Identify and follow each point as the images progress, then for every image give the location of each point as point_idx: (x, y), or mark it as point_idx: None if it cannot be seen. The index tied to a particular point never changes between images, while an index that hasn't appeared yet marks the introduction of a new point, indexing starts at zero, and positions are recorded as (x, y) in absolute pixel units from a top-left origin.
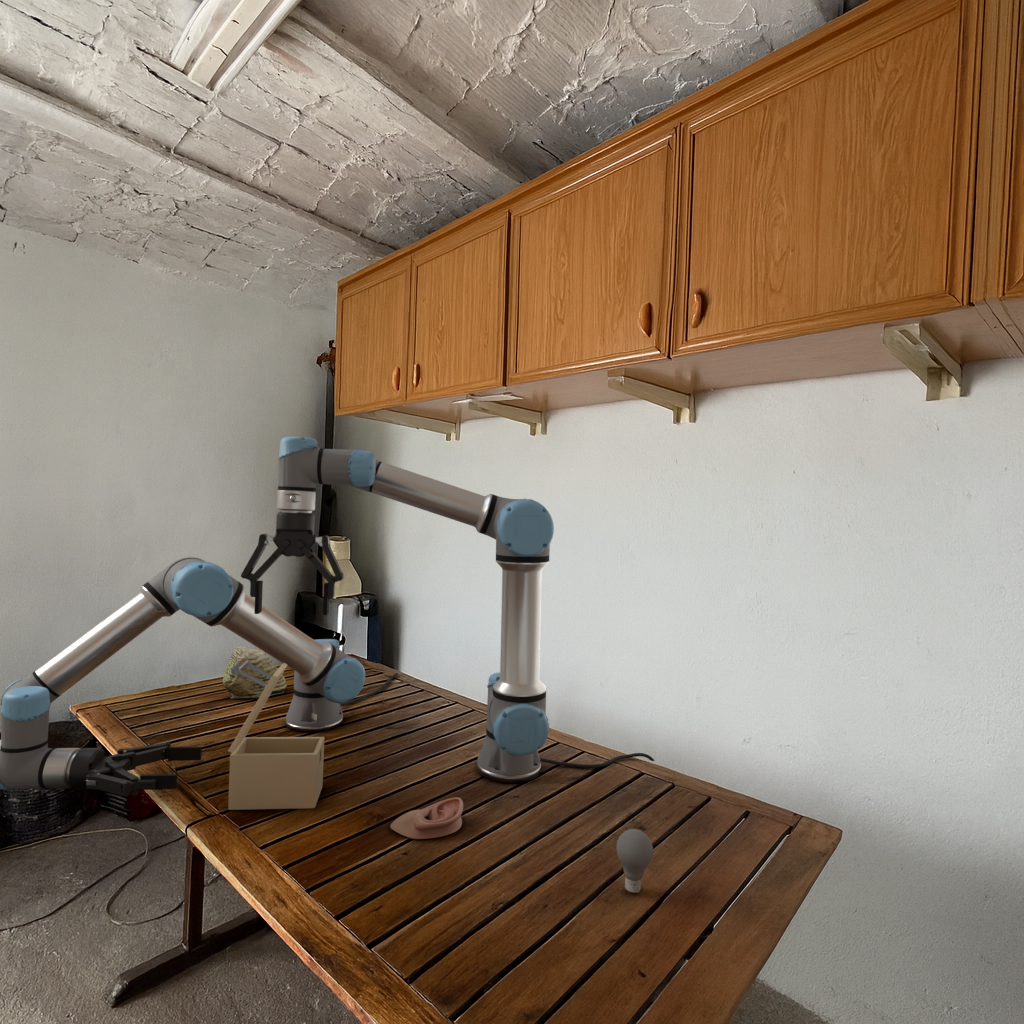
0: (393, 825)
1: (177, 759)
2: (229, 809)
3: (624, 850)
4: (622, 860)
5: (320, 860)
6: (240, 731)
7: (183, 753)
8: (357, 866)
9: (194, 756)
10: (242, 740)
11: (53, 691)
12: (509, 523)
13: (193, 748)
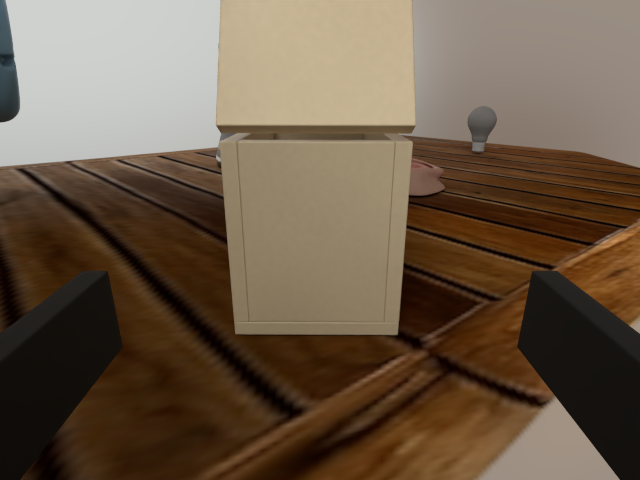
0: (424, 190)
1: (26, 461)
2: (397, 331)
3: (494, 117)
4: (491, 126)
5: (539, 225)
6: (413, 38)
7: (43, 378)
8: (530, 208)
9: (99, 346)
10: (257, 140)
11: None
12: None
13: (83, 296)
